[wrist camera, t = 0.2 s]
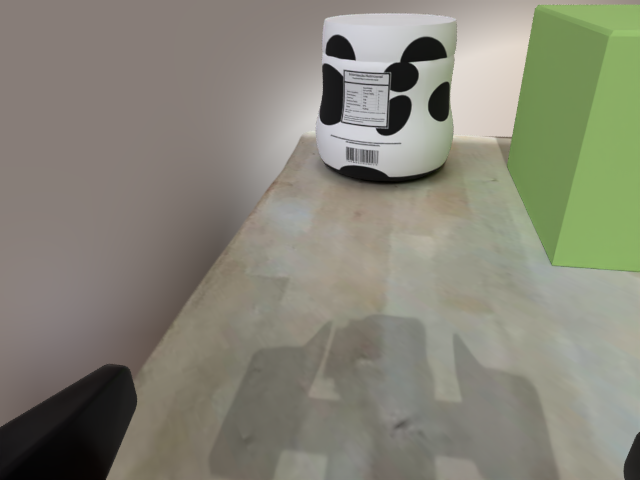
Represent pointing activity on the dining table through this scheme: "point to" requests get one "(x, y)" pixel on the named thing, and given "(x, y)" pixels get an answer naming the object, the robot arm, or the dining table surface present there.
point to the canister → (581, 135)
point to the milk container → (386, 95)
